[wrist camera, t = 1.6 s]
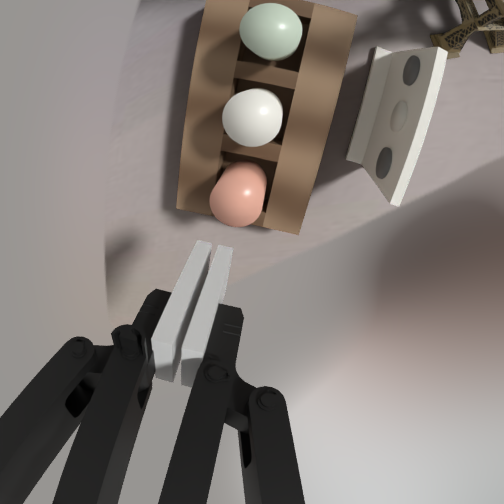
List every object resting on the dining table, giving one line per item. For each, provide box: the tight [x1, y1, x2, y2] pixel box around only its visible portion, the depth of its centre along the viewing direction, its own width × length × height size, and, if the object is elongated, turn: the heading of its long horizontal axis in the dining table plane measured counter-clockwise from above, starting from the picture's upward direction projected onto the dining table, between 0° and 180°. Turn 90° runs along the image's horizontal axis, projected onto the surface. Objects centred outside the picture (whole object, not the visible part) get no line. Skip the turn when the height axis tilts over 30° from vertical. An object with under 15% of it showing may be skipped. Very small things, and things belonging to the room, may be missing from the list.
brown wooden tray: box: [176, 0, 357, 235], centre depth 24 cm, size 21×12×4 cm, turn 169°
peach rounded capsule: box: [209, 160, 267, 227], centre depth 24 cm, size 4×4×5 cm
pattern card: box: [345, 47, 448, 207], centre depth 20 cm, size 12×4×10 cm, turn 169°
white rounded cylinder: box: [222, 88, 283, 147], centre depth 21 cm, size 4×4×5 cm
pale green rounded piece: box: [239, 3, 302, 61], centre depth 17 cm, size 4×4×5 cm
